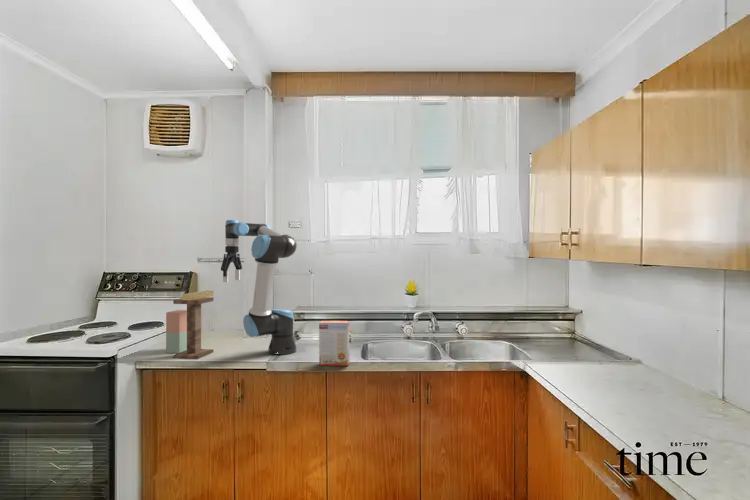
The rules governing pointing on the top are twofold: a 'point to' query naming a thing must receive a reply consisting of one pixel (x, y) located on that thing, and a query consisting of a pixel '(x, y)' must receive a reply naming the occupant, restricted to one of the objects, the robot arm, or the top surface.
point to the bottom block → (176, 342)
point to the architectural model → (350, 336)
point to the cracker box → (334, 343)
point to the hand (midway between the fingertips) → (231, 281)
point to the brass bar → (197, 295)
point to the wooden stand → (193, 329)
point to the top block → (176, 321)
